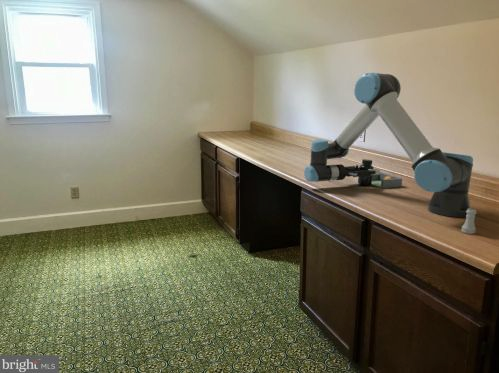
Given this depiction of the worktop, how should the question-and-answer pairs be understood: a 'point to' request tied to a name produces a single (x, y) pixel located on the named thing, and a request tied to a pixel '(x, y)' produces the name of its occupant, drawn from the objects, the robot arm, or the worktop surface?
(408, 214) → the worktop surface
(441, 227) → the worktop surface
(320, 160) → the robot arm
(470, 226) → the rook chess piece
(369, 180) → the supplement bottle
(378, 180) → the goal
